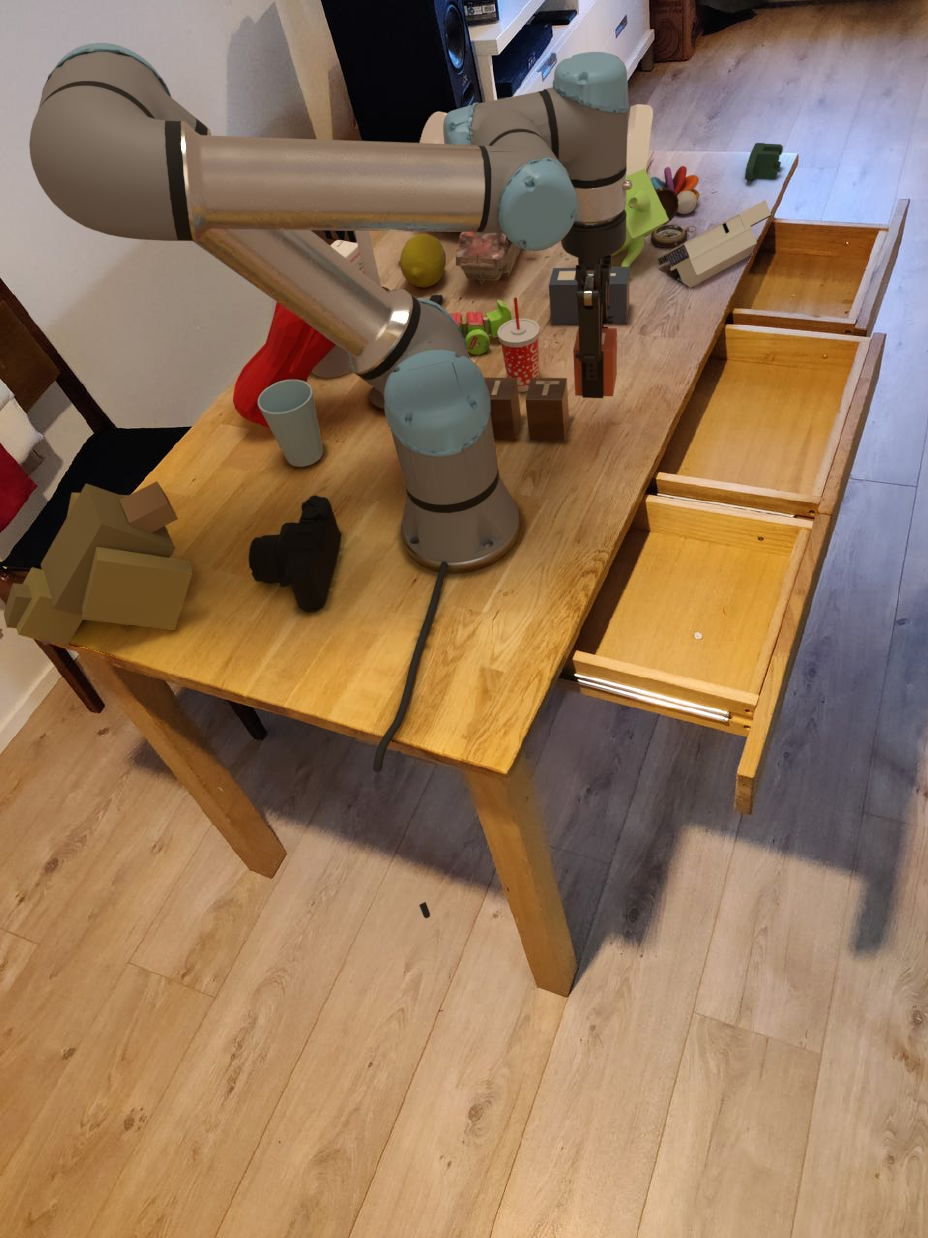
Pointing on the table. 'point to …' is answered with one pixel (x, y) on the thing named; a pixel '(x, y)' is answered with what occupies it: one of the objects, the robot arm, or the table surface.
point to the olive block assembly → (104, 568)
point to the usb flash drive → (436, 298)
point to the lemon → (423, 260)
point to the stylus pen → (649, 158)
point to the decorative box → (486, 255)
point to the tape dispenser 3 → (638, 137)
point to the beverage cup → (520, 349)
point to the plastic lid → (434, 129)
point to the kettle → (640, 215)
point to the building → (716, 247)
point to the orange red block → (608, 359)
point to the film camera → (300, 554)
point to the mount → (764, 161)
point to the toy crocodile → (482, 327)
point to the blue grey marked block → (619, 294)
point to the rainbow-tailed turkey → (680, 188)
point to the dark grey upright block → (563, 297)
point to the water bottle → (279, 361)
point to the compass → (669, 233)
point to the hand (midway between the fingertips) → (595, 382)
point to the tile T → (547, 409)
